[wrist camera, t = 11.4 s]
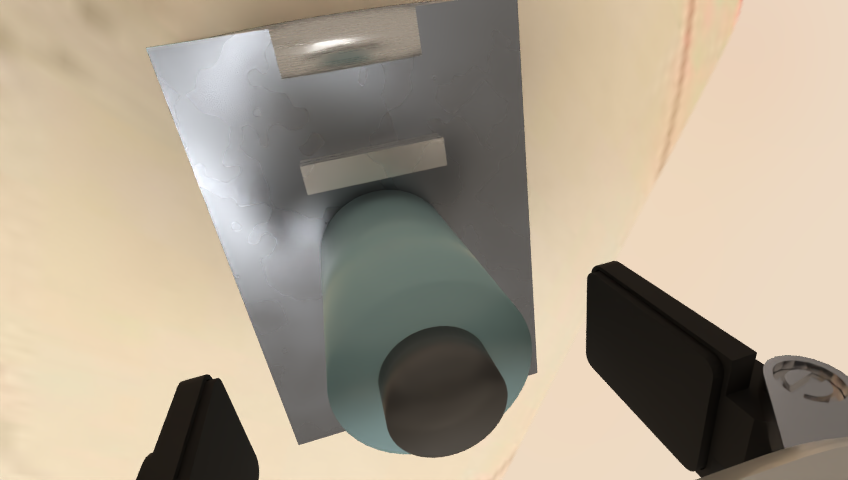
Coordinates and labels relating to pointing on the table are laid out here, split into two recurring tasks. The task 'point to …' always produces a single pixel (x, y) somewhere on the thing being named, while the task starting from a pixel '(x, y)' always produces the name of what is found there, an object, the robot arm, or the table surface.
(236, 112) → the motor
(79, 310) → the table surface
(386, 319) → the teal cylinder with cap
